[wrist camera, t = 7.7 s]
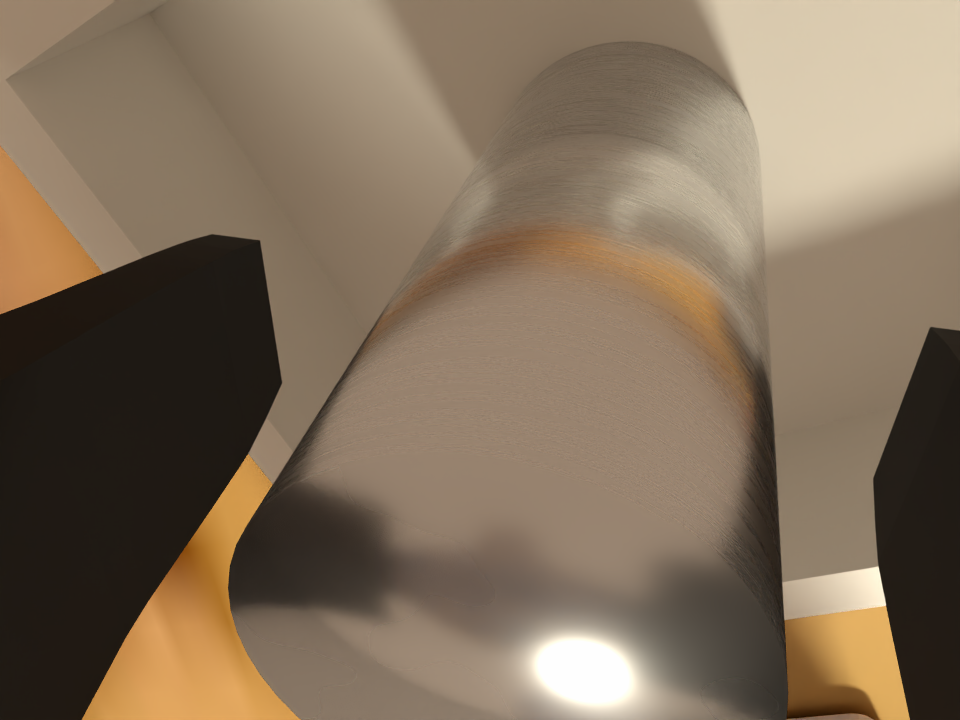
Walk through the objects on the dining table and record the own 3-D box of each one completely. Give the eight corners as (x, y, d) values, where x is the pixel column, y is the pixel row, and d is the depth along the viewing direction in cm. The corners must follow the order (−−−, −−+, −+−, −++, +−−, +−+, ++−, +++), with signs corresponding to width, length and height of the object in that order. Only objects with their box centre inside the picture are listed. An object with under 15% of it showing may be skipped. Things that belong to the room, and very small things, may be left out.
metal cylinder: (790, 57, 12) (869, 535, 5) (729, 306, 14) (719, 876, 7) (504, 27, 12) (187, 402, 5) (491, 268, 15) (259, 754, 8)
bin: (1148, 362, 14) (1274, 550, 10) (475, 519, 19) (423, 671, 16) (945, -640, 8) (1072, -871, 5) (106, -19, 14) (-77, 48, 11)
